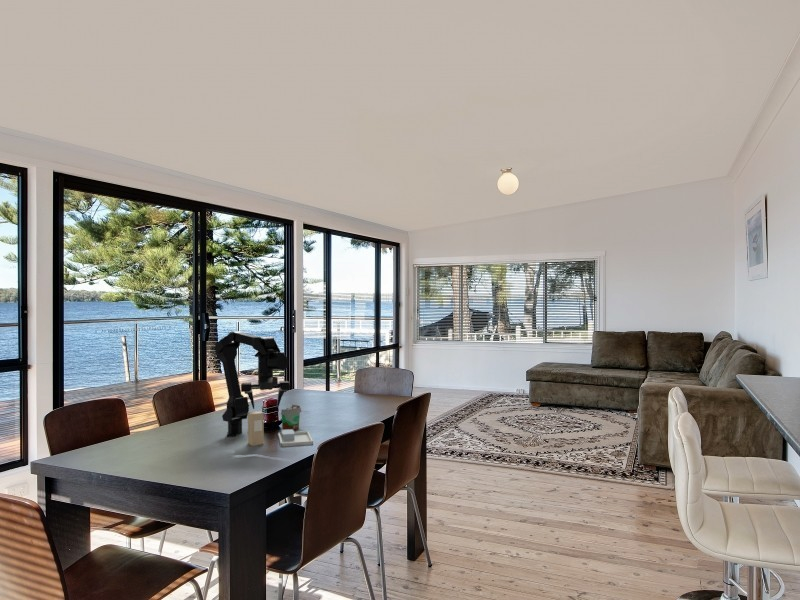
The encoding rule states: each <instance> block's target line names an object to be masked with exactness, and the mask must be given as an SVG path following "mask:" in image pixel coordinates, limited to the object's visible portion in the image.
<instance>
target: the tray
mask: <svg viewBox="0 0 800 600" xmlns="http://www.w3.org/2000/svg"><path fill="white" fill-rule="evenodd" d="M294 434H295V440H289V441H283V440H282V432H278V434H277V437H278V441H279V445H280V448H282V447H297V446H298V447H299V446H312V445H314V440H313V438H312V436H311V434H310V432H309V430H302V431H298V430H297V431H294Z"/></svg>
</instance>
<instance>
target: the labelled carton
mask: <svg viewBox="0 0 800 600" xmlns="http://www.w3.org/2000/svg"><path fill="white" fill-rule="evenodd" d="M264 414H265V413H264V412H262V411H260V410H259V411H252V412H251V411H248V415H247V444H248V445H250V446H252V447H253V446H254V447H255V446H260V445H264V443H265V440H264V439H265V436H264V435H265V432H264V431H265V430H264V426H265V424H264V418H265V415H264Z"/></svg>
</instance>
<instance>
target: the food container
mask: <svg viewBox="0 0 800 600" xmlns="http://www.w3.org/2000/svg"><path fill="white" fill-rule="evenodd" d="M301 412H302V407H301V406H300V405H298V404H291V407H287V408H286V409H281V410H280V415H281V422H282V423H281V426H282V428H281V431H282V430H290V429H293V431H298V430H299V429H300V428H299V427H300V417H301V416H300V415H301Z"/></svg>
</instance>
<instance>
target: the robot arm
mask: <svg viewBox="0 0 800 600" xmlns="http://www.w3.org/2000/svg"><path fill="white" fill-rule="evenodd" d="M241 344H242V345H247V346H251V348H253V350H255V351H257V352H256V353H255V354H254V357H255V358H257V367H258V368H257V377H258V378H257V384H256V383H255V384H252V382H242V383H241V385H240V380H239V376H238V370H237V365H236V358H237V355H238V350H237V349H239V347H240V346H241ZM214 351H215V354H216V357H217V358H218V360H219V362H221V364H222V366H223V367H222V368H223V374H224V379H225V384H226V388H227V393H228V399H227V401H226V410H225V411H224V412H223V414H222V416H221V417H222V421H223V422H226V423H227V432H226V437H228V438H229V437H236V436H238V435H241V434H243V420H248V413H249V412H250V405H251V406H252V409H253V410H254V409H255V402H254V401H255V400H254V395H253V394H254V393H253V390H260V391H266V390H269V391H270V390H273V389H278V391H277V393H278V394H277V403H276V408H277V409H278V408H280V407H279V406H280V405H281V404H280V403H281V400H282V398H283V395H284V394H285V393H287V392H288V391H290V390H291V383H290V381H288V380H280V381H279V382H278V379H279V377H278V376H277V375H276V376H274V370H276V371H284V370H286V369H288V367H289V363H290V361H289V359H288V357H287V355H285V354H286V353H285V352H283V351H281V350H280V348H279V346H278V344H277V342H276V339H275V337H273V336H257V335H253V334H249V333H246V332H242V331H240V330H237V331H231V332H229V333H228V334H227V335H226V336H224V337H222V338H221V339H220V340H218V342H217V343H216V344H215V346H214ZM242 392H243V393H244V394H245V395H247V396H245V397H244V395H243V394H242ZM248 398H249V400H250V403H251V404H249V400H248Z"/></svg>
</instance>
